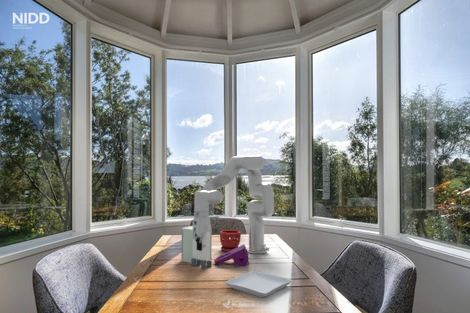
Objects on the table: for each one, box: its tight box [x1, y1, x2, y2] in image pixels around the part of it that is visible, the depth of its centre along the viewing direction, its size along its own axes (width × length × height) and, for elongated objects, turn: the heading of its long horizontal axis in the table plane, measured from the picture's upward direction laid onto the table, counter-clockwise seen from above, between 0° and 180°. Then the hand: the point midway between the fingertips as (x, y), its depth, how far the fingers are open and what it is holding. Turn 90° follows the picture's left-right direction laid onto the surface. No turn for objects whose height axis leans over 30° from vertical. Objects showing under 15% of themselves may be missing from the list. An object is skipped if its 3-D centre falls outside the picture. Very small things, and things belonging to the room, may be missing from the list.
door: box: [193, 232, 211, 262], centre depth 164 cm, size 10×3×14 cm, turn 54°
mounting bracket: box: [213, 243, 250, 268], centre depth 169 cm, size 9×8×18 cm
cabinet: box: [180, 225, 213, 264], centre depth 177 cm, size 10×14×18 cm
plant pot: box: [219, 229, 242, 253], centre depth 198 cm, size 13×13×12 cm
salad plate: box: [224, 270, 293, 298], centre depth 134 cm, size 21×21×3 cm
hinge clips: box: [190, 258, 213, 270], centre depth 164 cm, size 9×5×4 cm, turn 55°
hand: (201, 249), depth 164 cm, fingers closed on door, 2 cm apart
